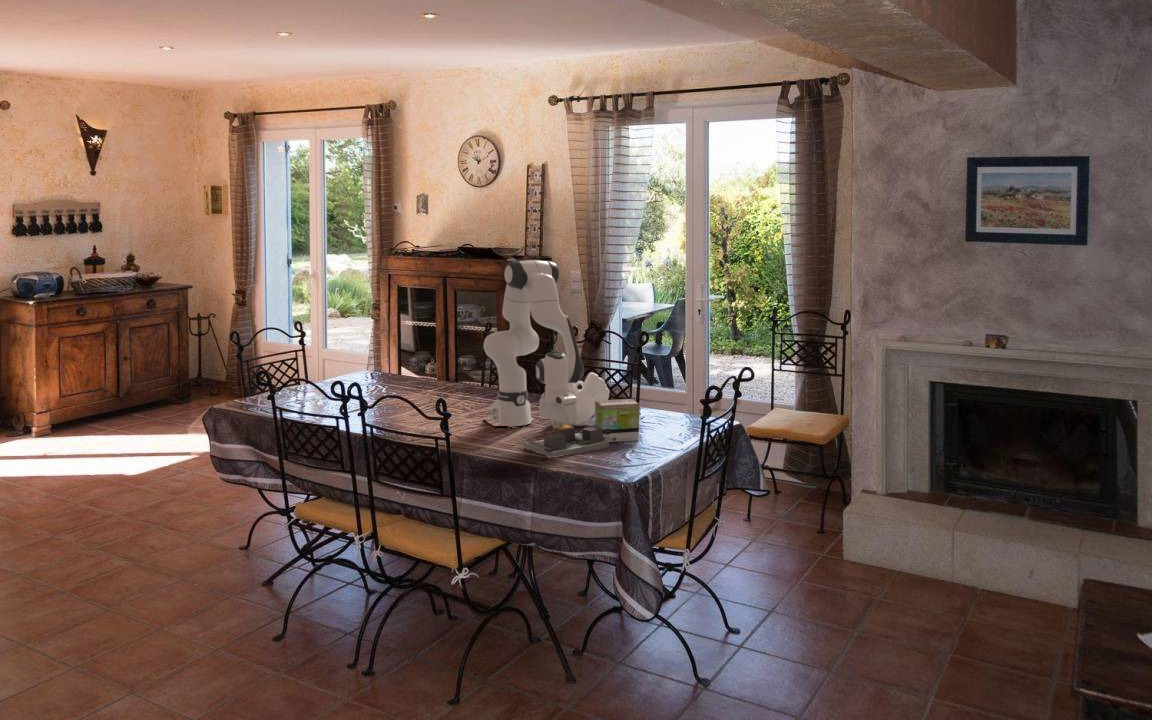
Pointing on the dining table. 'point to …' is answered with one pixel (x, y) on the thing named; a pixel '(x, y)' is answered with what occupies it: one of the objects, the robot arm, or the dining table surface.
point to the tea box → (618, 419)
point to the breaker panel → (558, 445)
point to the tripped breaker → (567, 433)
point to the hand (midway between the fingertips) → (557, 432)
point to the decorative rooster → (588, 397)
